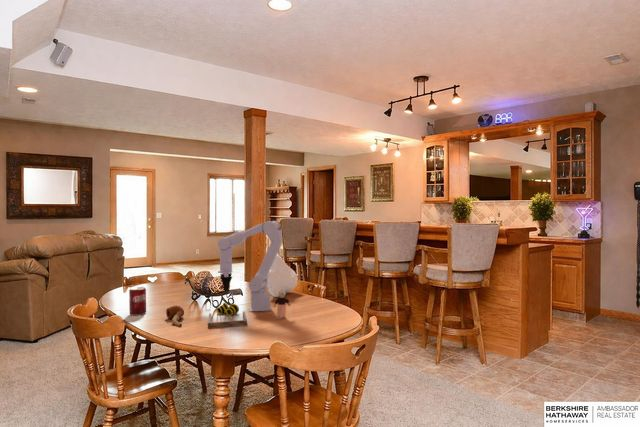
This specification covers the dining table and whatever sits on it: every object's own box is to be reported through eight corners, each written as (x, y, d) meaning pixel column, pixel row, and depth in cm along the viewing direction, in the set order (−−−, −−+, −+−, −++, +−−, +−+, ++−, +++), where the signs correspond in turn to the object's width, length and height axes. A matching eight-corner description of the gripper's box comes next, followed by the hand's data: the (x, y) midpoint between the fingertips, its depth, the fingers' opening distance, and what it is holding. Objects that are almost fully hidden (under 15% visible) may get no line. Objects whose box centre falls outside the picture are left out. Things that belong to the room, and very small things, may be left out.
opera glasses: (216, 315, 198) (215, 305, 198) (224, 311, 203) (223, 301, 202) (232, 318, 193) (230, 308, 193) (239, 313, 198) (238, 303, 197)
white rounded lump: (283, 277, 260) (262, 248, 249) (304, 275, 251) (283, 244, 240) (266, 309, 241) (243, 278, 230) (288, 307, 233) (265, 275, 222)
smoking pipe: (181, 316, 195) (181, 303, 195) (192, 325, 179) (192, 311, 179) (165, 318, 191) (165, 305, 191) (175, 328, 175) (175, 314, 175)
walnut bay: (245, 315, 194) (245, 311, 194) (247, 325, 178) (247, 320, 178) (209, 318, 190) (209, 313, 190) (207, 327, 174) (207, 323, 174)
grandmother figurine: (275, 320, 186) (275, 291, 186) (272, 318, 189) (272, 290, 189) (291, 318, 189) (291, 289, 189) (288, 316, 193) (288, 288, 193)
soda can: (149, 312, 201) (149, 287, 201) (137, 316, 194) (136, 290, 194) (138, 311, 204) (138, 286, 204) (126, 314, 197) (125, 289, 197)
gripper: (217, 260, 215) (217, 287, 215) (217, 264, 201) (217, 292, 201) (231, 260, 216) (232, 286, 217) (232, 263, 202) (233, 291, 202)
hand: (226, 289), depth 209 cm, fingers open, 7 cm apart
